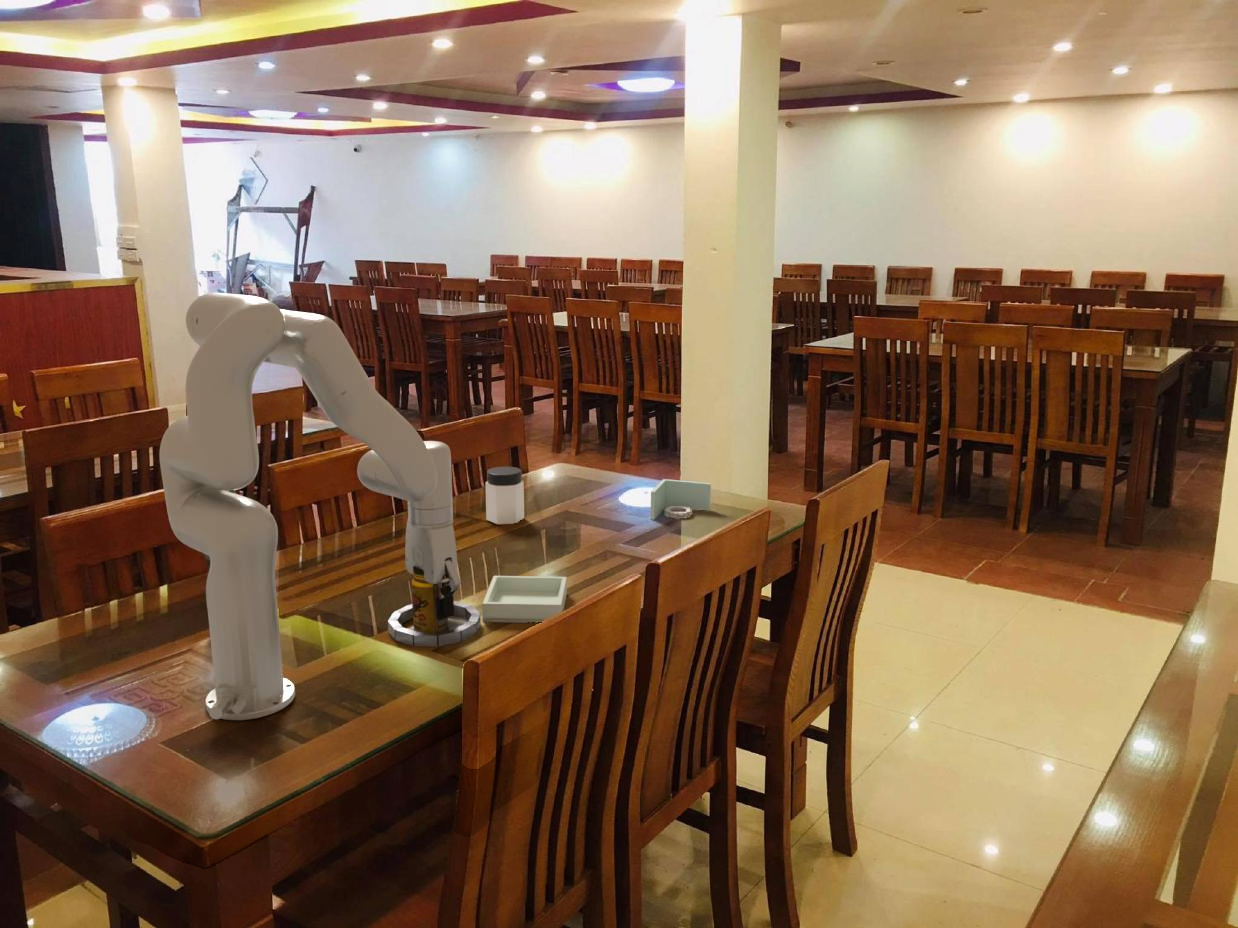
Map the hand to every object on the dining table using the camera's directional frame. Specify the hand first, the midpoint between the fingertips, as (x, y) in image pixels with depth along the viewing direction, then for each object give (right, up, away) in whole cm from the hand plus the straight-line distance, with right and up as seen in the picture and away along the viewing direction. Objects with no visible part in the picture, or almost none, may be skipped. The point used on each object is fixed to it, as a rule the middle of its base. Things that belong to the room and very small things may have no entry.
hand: (434, 610), depth 176 cm
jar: (+5, +12, +63) cm, 64 cm away
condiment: (0, -3, +1) cm, 3 cm away
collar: (0, -3, +1) cm, 3 cm away
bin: (+15, -1, +10) cm, 18 cm away
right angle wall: (+47, +13, +68) cm, 84 cm away
